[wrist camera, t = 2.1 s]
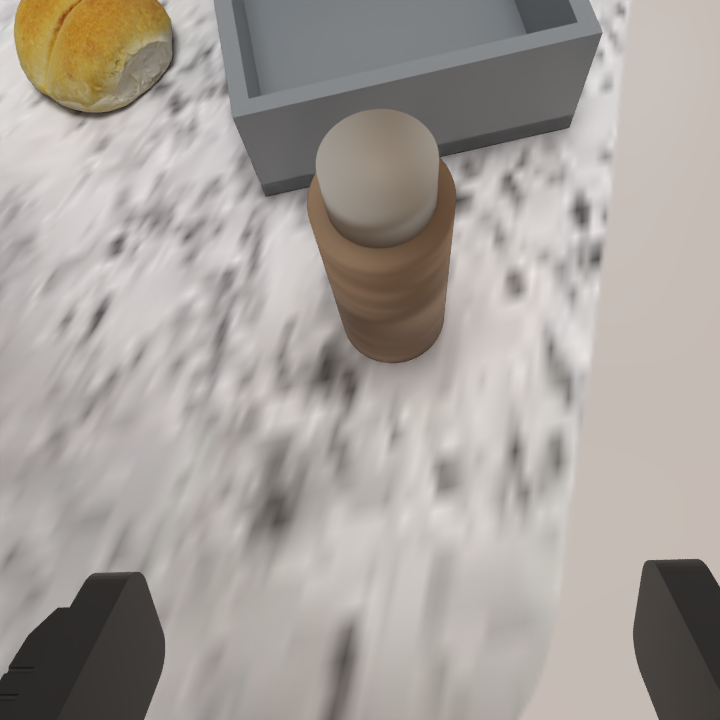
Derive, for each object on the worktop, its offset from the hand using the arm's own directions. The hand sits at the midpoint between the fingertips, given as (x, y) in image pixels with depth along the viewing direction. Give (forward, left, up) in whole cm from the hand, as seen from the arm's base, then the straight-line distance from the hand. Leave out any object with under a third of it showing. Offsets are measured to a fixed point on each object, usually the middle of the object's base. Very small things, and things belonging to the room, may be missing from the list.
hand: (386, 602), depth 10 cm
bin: (+5, +27, -16) cm, 33 cm away
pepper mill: (+2, +12, -16) cm, 20 cm away
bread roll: (-11, +32, -17) cm, 37 cm away
